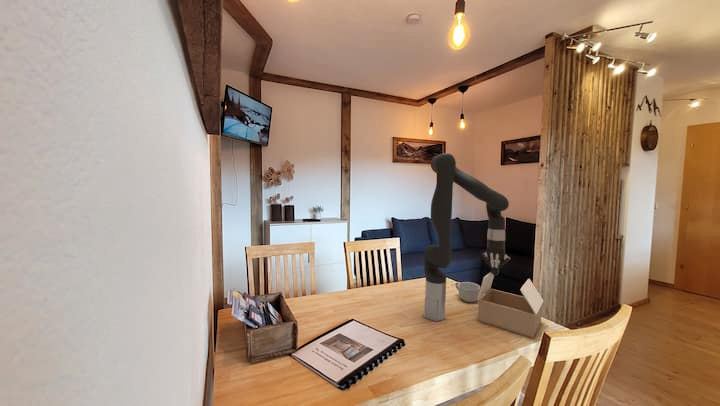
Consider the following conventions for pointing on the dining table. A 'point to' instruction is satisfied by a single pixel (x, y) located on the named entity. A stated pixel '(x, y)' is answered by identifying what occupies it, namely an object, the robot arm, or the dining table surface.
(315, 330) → the dining table surface
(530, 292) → the flap
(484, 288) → the flap
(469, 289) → the teacup
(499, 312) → the carton
